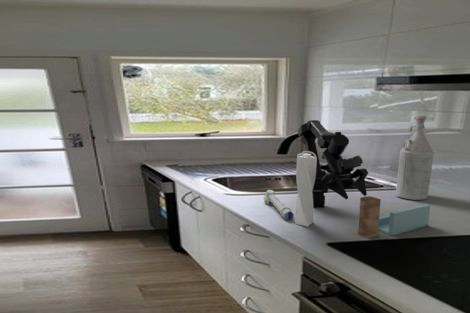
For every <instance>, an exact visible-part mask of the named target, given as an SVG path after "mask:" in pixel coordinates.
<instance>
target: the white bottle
mask: <svg viewBox="0 0 470 313" xmlns="http://www.w3.org/2000/svg"><path fill="white" fill-rule="evenodd" d="M426 116H427V115H426V114H425V115H424V114H419V113H418V114H417V113H416V114H415V116H414V118H413V120H412V122H413V123H411V125H409V126H410V127H409V131H410V132H412V131H413V128H415V132H414V133H413V134H412V135H411V137H410V138H409V139H404V142H403V145H402V148H401V149H400V150H399V158H398V159H399V161H398V170H397V179H396V190H395V195H396V197H399V198H402V199H406V200H413V201H415V200H416V201H418V200H419V201H420V200H421V201H422V200H426V199H428V198H429V190H430V183H431V176H432V168H433V162H434V155H435V152H434V151H433V149H432V147H431V145H430V143H429V141H428V139H427V137H426V135H425V133H424V131H425V130H426V126H425V122H426V121H425V120H426V119H427V117H426ZM414 120H416V121H415V122H414ZM414 123H415V124H416V125H415V126H413V124H414Z"/></svg>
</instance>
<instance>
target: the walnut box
mask: <svg viewBox="0 0 470 313" xmlns="http://www.w3.org/2000/svg"><path fill="white" fill-rule="evenodd" d="M381 201H382V200H381V198H377V197H374V196H371V195H368V196H367V195H366V196H363V197H360V202H359V212H358V213H359V215H358V228H357V234H358V235H359V236H362V237H365V238H367V239H371V238H375V237H379V236H378V235H379V230H378V226H379V217H380V209H381Z"/></svg>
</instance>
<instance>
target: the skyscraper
mask: <svg viewBox="0 0 470 313" xmlns="http://www.w3.org/2000/svg"><path fill="white" fill-rule="evenodd" d="M307 152H308V153H312V154H313V155H314V156H315V157H313V156H311V154H308V153H307ZM316 166H317V157H316V155H315V154H314V153H313V152H310V151H306V150H304V151H301V153H298V154H296V174H295V175H296V178H295V179H296V180H295V181H296V189H297V199H296V208H295V217H294V219H295V220H294V224H295V225H300V226H304V227H309V226H310V225H311V224H312V223H314V207H313V194H312V190H313V186H314V182H315V177H316Z"/></svg>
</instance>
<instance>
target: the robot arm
mask: <svg viewBox="0 0 470 313" xmlns="http://www.w3.org/2000/svg"><path fill="white" fill-rule="evenodd" d="M297 135H298V137H299V139H300V142H302V144H304V147H305V151H310V152H313V153H314V154H315V155H316V157H317V166H316V177H315V182H314V186H313V190H312V194H313V208H319V209H320V208H323V209H324V208H325V204H326V196H325V194H327V193H328V192H329V190H331V191H333V192H334V193H336V194H337V195H339V196H340V197H341V198H343V199H345V200H348V199H349V196H348V194H347V191H346V189H345V187H344V186H343V184H342V181H344V180H350V182H352V185H353V186H354V187H355V188H356V189H357V191H359V192H360V194H362V195H363V197H367V195H368V193H367V188H366V182H365V179H366V178H367V176H368V175H369V171H368V170H367V168H359V167H361V166H362V164H363V159H362V158H361V156H360V155H355V156H353V157H350V158H344V157H342V154H343V153H344V152H345V150H346V148H347V147H348V145H349V143H350V140H349V138H348V137H347V136H346V135H345V134H342V132H341V131H336V132H332V131H328V130H327V129H326V128H325V127H324V126H323V124H321V121H320V120H318V119H316V120H315V119H311V120H307V122H305V123H304V124H301V125H300V126H299V128H298V134H297ZM316 141H317V143H316ZM317 145H318V147H319V149H322V150H323V149H324V150H323V152H322V155H321V159H322V160H325V161H326V163H327V165H328V168H327V170H328V171H329V172H327V171H326V170H322V168H321V164H320V159H319V158H320V157H319V154H318V149H317ZM306 153H308V152H306ZM308 154H311V156H313V157H315V156H314V155H313V154H312V153H308ZM355 168H357V169H355Z"/></svg>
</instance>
